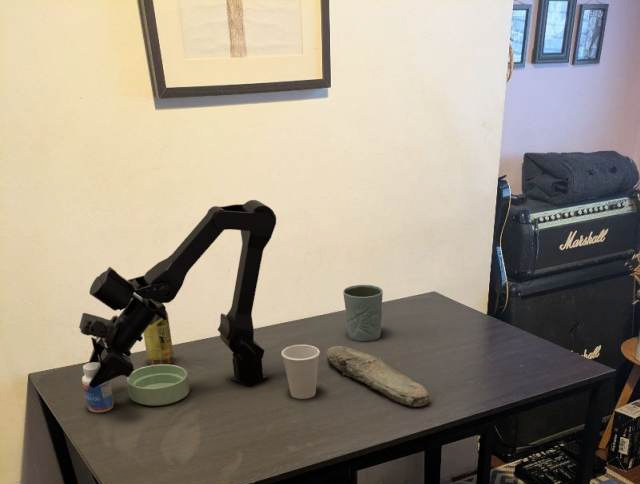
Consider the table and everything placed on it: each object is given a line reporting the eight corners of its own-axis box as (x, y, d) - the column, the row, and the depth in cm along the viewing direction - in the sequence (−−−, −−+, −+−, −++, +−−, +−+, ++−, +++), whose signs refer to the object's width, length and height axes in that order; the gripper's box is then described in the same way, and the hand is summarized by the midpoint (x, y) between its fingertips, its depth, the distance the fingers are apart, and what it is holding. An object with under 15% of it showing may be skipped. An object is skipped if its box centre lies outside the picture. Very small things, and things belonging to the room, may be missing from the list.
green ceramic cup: (382, 342, 199) (382, 297, 192) (343, 342, 199) (342, 296, 192) (382, 328, 207) (383, 284, 200) (345, 328, 207) (344, 283, 201)
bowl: (202, 392, 174) (199, 373, 171) (156, 413, 165) (152, 393, 163) (164, 377, 180) (161, 359, 178) (118, 396, 172) (114, 378, 169)
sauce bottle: (168, 368, 185) (154, 286, 173) (143, 366, 186) (128, 284, 174) (179, 358, 190) (167, 278, 179) (155, 356, 191) (142, 276, 180)
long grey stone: (405, 419, 166) (439, 408, 171) (407, 397, 163) (442, 387, 168) (314, 360, 188) (347, 352, 193) (314, 339, 185) (348, 332, 190)
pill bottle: (83, 410, 166) (73, 368, 161) (99, 400, 170) (90, 359, 165) (103, 414, 164) (94, 372, 159) (119, 404, 169) (111, 362, 163)
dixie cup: (305, 382, 179) (303, 341, 173) (329, 393, 174) (327, 351, 168) (276, 393, 174) (273, 351, 168) (300, 405, 169) (297, 362, 163)
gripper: (92, 286, 163) (49, 344, 165) (105, 314, 149) (58, 377, 151) (136, 317, 170) (95, 372, 172) (153, 346, 156) (107, 406, 158)
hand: (88, 380), depth 163 cm, fingers open, 6 cm apart
